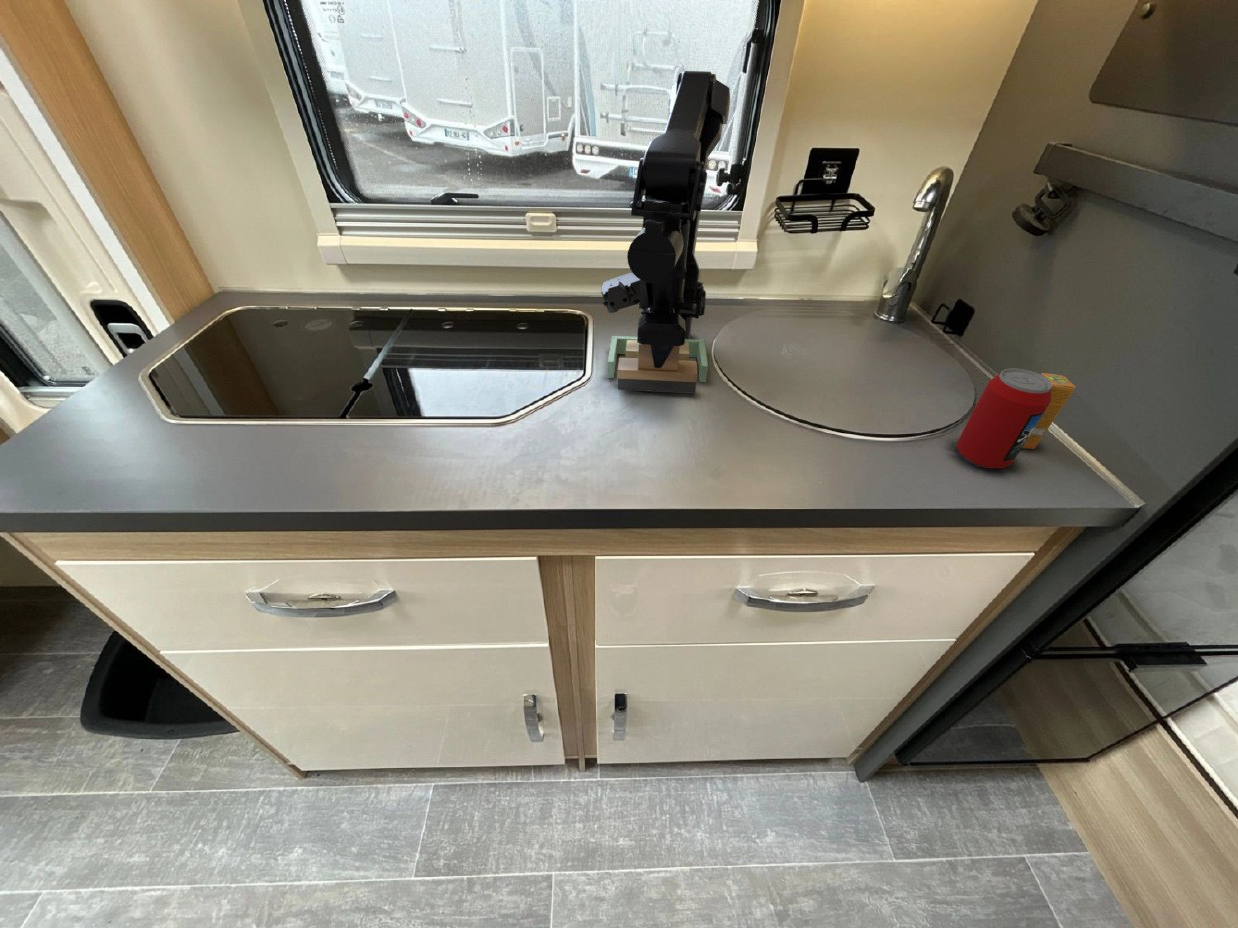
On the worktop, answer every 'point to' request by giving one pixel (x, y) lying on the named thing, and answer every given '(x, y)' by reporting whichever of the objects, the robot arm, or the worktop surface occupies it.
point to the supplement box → (1051, 407)
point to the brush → (657, 373)
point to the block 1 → (632, 349)
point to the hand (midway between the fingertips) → (657, 362)
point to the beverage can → (1004, 417)
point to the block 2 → (684, 352)
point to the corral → (620, 342)
